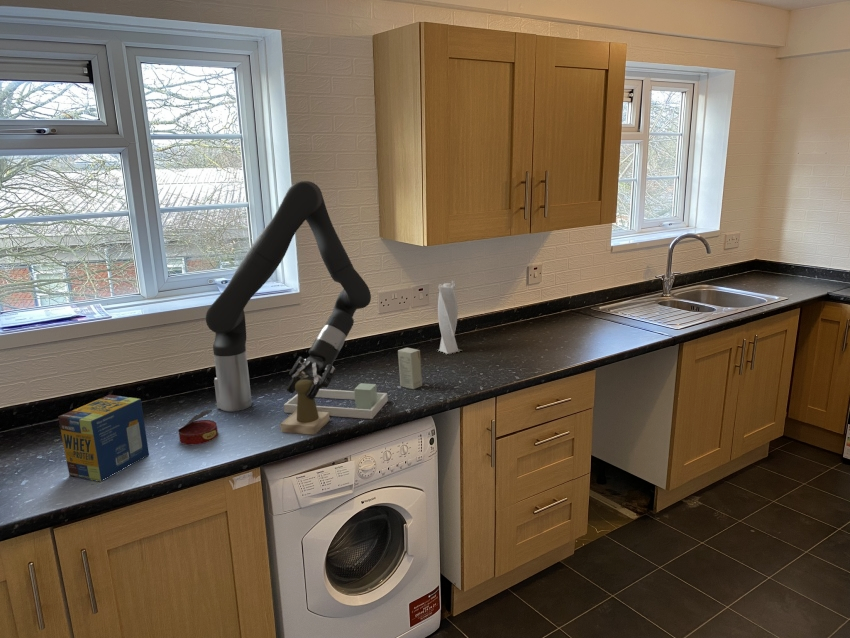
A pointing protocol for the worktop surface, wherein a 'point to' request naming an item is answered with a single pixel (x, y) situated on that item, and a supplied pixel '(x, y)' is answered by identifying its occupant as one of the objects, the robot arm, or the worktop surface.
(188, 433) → the canned food
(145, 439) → the protein box
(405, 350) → the skincare box
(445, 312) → the skyscraper
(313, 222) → the robot arm
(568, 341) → the worktop surface
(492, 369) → the worktop surface
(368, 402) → the sage block
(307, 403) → the olive pawn
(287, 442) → the worktop surface
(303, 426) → the board
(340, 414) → the white rectangular frame
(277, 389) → the worktop surface
